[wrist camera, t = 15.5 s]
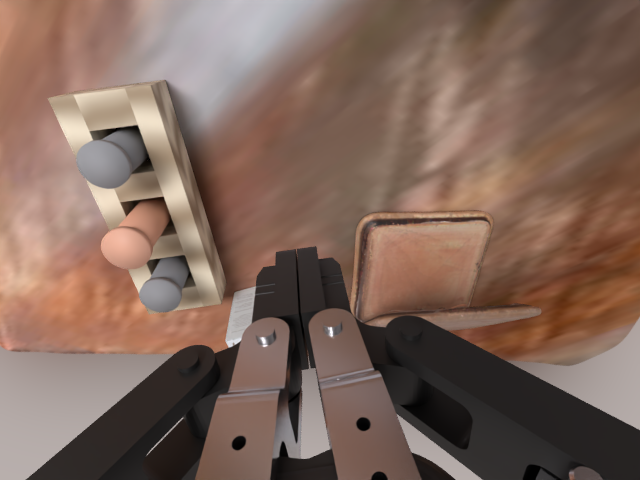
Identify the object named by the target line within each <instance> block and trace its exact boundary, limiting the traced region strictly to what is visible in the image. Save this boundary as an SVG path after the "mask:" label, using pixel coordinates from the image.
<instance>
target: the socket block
mask: <svg viewBox="0 0 640 480" xmlns="http://www.w3.org/2000/svg"><path fill="white" fill-rule="evenodd" d="M48 100H49V102H50V104H51V106H52V108H53V110H54V113H55V115H56V117H57V119H58V121H59V123H60V125H61V128H62V130H63V132H64V134H65V136H66V138H67V140H68V142H69V145H70V147H71V149H72V151H73V153H74V155H75V157H77V153H78V151H79V149H80V148H81V147H82V146H83V145H85V144H86V143H88V142H90V141H93V140H98V139H103V138H105V137H107V136H109V135H110V134H112V133H114V130H113V128H118V127H125V126H133V125H138V126H139V129H140V132H141V135H142V137H143V140H144V143H145V146H146V149H147V151H148V154H149V157H150V160H148V161H144V162H143V163H142V164H141V165H139V166H138V167H137V168H136V169H135V170H134V171H133V172H132V174H131V176H130V178H129V179H128V180H127V181H126V182H125V183H124V184H123V185H122V186H120V187H117V188H114V189H105V188H101V187H98V186H95V185H93V184H92V183H90V182H89V181H88V180H87V179H86V181H87V183H88V185H89V187H90V189H91V192H92V194H93V196H94V198H95V200H96V202H97V204H98V207H99V209H100V211H101V213H102V215H103V217H104V219H105V221H106V224H107V226H108V228H109V230H112V229H113V228H116V227H118V226H119V225H120V223H121V222H122V221H123V220H124V219H125V218H126V217H127V215H128V214H129V213H130V212H131V211H132V210H133V209H134V208H135V206H136V205H137V204H138V203H139V202H140V201H141V199H148V198H155V197H162V196H164V198H165V201H166V204H167V207H168V210H169V212H170V215H171V220H170V221H169V223H168V224H167V226H166V228H165V229H164V231H163V232H162V234H161V236H160V237H159V239H158V240H157V242H156V244H155V245H154V247H153V252H152V255H151V257H150V259H149V261H148V262H147V263H146V264H145V265H144V266H142V267H140V268H137V269H128V271H129V273H130V275H131V277H132V279H133V281H134V283H135V286H136V288H137V290H138V292H140V289H141V288H142V286H143V284H144V283H145V282H146V281H147V280H149V279H150V277H151V275H152V274H153V272H154V270H155V268H156V267H157V265H158V263H159V261H160V259H161V258H166V257H173V256H180V255H185V257H186V260H187V262H188V265H189V268H190V272H189V274H188V277H187V279H186V282H185V284H184V287H183V289H182V299H181V301H180V304H179V305H178V307H177V308H176V309H174V310H172V311H175V310H182V309H189V308H196V307H203V306H210V305H217V304H222V300H223V295H224V291H225V287H226V283H227V282H226V279H225V275H224V272H223V269H222V265H221V262H220V259H219V256H218V252H217V249H216V246H215V242H214V239H213V236H212V233H211V229H210V226H209V223H208V219H207V216H206V213H205V209H204V206H203V203H202V200H201V196H200V193H199V190H198V186H197V183H196V180H195V177H194V173H193V170H192V167H191V163H190V160H189V157H188V153H187V150H186V147H185V144H184V140H183V137H182V134H181V130H180V127H179V124H178V120H177V117H176V114H175V111H174V107H173V104H172V101H171V97H170V94H169V91H168V88H167V84H166V81H165V80H160V81H153V82H145V83H137V84H129V85H122V86H114V87H106V88H98V89H91V90H83V91H75V92H71V93H67V94H63V95H59V96H55V97H51V98H48ZM145 307H146V306H145ZM146 309H147V311H148V313H149V314H154V313H161V312H156V311H153V310H150V309H149V308H147V307H146Z"/></svg>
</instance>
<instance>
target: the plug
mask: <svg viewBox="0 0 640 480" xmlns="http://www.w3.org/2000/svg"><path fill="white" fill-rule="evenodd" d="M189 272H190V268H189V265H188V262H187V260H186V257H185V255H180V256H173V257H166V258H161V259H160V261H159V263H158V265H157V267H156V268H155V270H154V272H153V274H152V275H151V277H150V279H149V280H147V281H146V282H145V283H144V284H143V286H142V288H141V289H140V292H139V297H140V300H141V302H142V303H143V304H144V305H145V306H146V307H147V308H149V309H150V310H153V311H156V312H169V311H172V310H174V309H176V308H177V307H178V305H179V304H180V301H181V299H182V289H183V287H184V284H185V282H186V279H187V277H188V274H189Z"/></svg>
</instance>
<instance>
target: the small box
mask: <svg viewBox="0 0 640 480" xmlns="http://www.w3.org/2000/svg"><path fill="white" fill-rule="evenodd" d="M255 289H256V286H255V287H251V288H248V289H244V290H240V291H236V292H234V297H233V302H232V308H231V313H230V319H229V324H228V329H227V335H226V343H227V345H228V346H229V348H230V347H232V346H234V345H236V344H237V343H239V342H240V341H241V339H242V335H243V333H244V331H245V329H246V328H247V327H248V326H249V325H251V324H252V315H253V307H254V298H255Z"/></svg>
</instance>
